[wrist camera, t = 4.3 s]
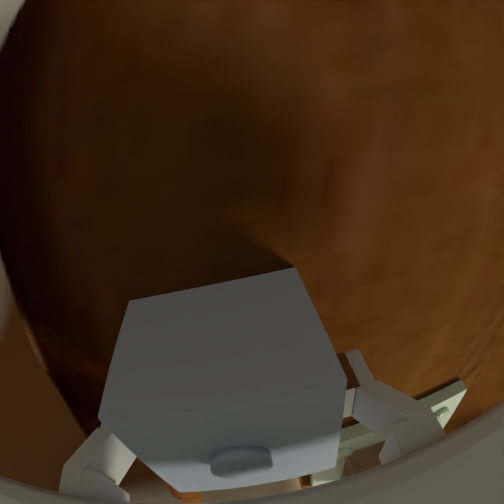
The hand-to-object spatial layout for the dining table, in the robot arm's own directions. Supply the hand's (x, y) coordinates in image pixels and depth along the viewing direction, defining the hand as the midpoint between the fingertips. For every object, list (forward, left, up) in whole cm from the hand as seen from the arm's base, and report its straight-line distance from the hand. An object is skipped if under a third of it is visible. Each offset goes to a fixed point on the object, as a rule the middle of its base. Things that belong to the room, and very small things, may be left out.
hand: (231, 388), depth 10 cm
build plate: (+16, +9, -2) cm, 18 cm away
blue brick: (0, 0, -2) cm, 2 cm away
